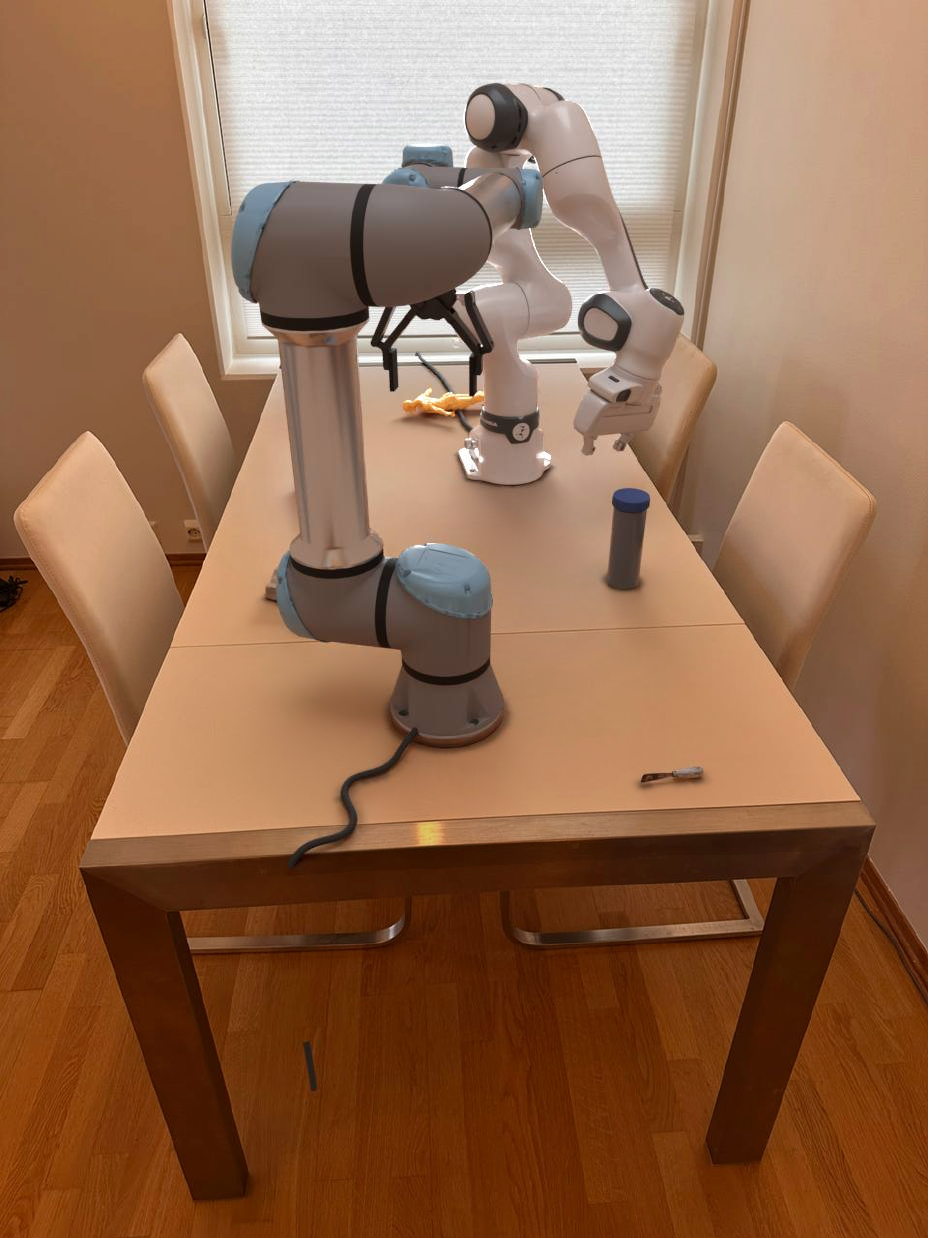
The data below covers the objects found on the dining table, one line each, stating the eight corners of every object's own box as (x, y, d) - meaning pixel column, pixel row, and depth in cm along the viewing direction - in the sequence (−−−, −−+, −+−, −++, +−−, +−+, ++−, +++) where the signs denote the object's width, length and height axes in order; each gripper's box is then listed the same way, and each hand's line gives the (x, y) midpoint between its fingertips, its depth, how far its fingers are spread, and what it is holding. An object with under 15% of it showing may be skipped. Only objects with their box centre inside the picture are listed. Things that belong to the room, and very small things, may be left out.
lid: (656, 503, 144) (657, 494, 143) (637, 516, 140) (638, 506, 139) (624, 494, 147) (625, 484, 146) (604, 505, 143) (605, 496, 142)
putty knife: (703, 777, 109) (705, 767, 109) (642, 788, 108) (644, 777, 107) (700, 772, 110) (702, 762, 109) (639, 782, 109) (640, 771, 108)
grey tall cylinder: (644, 580, 151) (654, 496, 143) (627, 592, 148) (637, 507, 140) (617, 570, 154) (625, 488, 146) (600, 582, 151) (608, 498, 143)
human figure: (395, 413, 223) (394, 398, 221) (438, 390, 237) (438, 375, 235) (462, 429, 215) (462, 413, 213) (502, 404, 229) (503, 388, 227)
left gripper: (513, 255, 139) (510, 389, 150) (360, 249, 144) (368, 380, 155) (505, 264, 133) (502, 403, 144) (345, 258, 137) (355, 393, 149)
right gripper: (652, 374, 169) (623, 439, 176) (583, 377, 155) (556, 447, 163) (677, 390, 165) (647, 455, 173) (609, 394, 152) (579, 465, 160)
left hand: (433, 391), depth 149 cm, fingers open, 13 cm apart
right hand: (602, 451), depth 168 cm, fingers open, 8 cm apart
